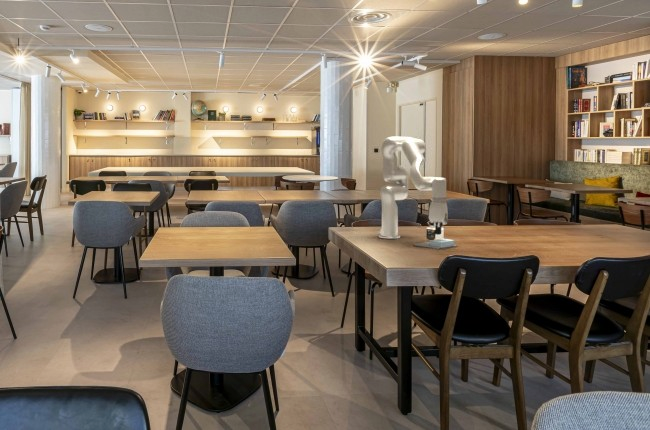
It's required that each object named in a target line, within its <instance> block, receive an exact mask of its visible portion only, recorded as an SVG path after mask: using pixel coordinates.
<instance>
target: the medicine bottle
mask: <svg viewBox="0 0 650 430" xmlns="http://www.w3.org/2000/svg"><path fill="white" fill-rule="evenodd" d="M444 232H445V229H444V227H441V234H439V235H437V234H435V227H434V224H433V223H431V222H430V221H429V227H426V233H425V234H426V239H425V240H426V241H428V242H430V241H431V240H438V239H445V238H444Z"/></svg>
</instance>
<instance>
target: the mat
mask: <svg viewBox="0 0 650 430" xmlns="http://www.w3.org/2000/svg"><path fill="white" fill-rule="evenodd" d="M412 246H415V247H420V248H427V249H432V250H445V249H451V248H456V247H458V245H456V244H454V246H449V247H443V248H439V247H433V246H430V241H427V242H419V243H413V244H412Z"/></svg>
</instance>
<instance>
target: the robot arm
mask: <svg viewBox="0 0 650 430" xmlns="http://www.w3.org/2000/svg"><path fill="white" fill-rule="evenodd" d="M426 149H427V146H426V143H425V141H424V140H423V139H420V138H415V137H412V136H399V135H398V136H388V137H386V138H385V139H383V142H382V143H381V153H382V179H383V180H384V181H385V182H387V183H393V184H384V185H383V186H382V187H381V188H380V191H379V192H380V193H379V195H380V200H381V229H378V230H377V233H378V238H380V239H387V240H389V239H391V240H392V239H401V234H399V232H398V228H399V227H398V226H399V224H398V223H399V219H398V218H399V208H398V204H397V202H396V201H403V200H405V199H407V198H408V195H409V178H410V179H411V182H412V184H413V185H414V187H415V188H416V190H417V191H419V192H420V191H421V192H423V191H425V192H426V191H431V198H430V200H431V202H430V203H429V209H428V220H429V223H430V222H431V223H433V224H434V227H435V234H437V235H439V234H441V228H443V226H444V225H447V224H448V218H449V216H448V215H449V212H448V210H449V209H448V204H447V179H446V177H436V176H422V174H421V172H420V168H421V167H422V166H424V164H425V162H426V159H425V157H424V155H423V154H424V153H425V152H426V151H427V150H426ZM396 152H403V153H404V155H405V157H406V158H407V161H408V163H409V164H410V171H408V169H407V168H406V167H405V166H404V165H398V157H397V154H396ZM409 176H410V177H409ZM394 183H396V184H394Z"/></svg>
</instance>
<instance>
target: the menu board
mask: <svg viewBox="0 0 650 430" xmlns="http://www.w3.org/2000/svg"><path fill="white" fill-rule="evenodd" d="M429 242H430V246H433V247H439V248H443V247H449V246H454V245H456V244H455V240H454V239H448V238H444V239H438V240H431V241H429Z"/></svg>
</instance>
